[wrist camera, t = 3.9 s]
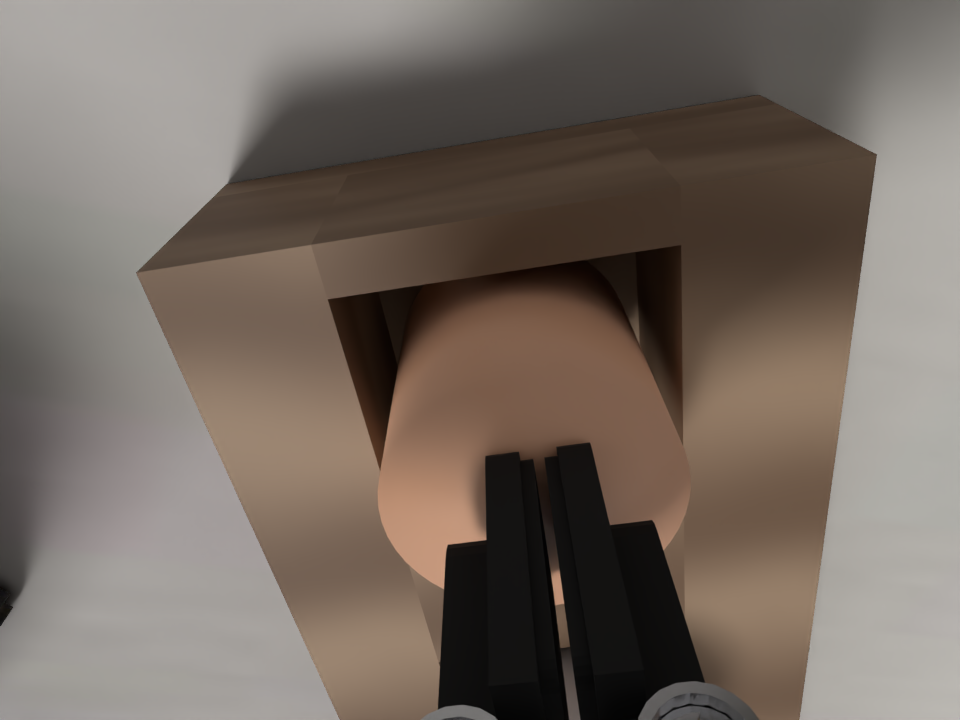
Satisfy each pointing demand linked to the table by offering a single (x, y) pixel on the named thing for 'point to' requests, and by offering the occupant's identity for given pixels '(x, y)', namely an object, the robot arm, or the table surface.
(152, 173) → the table surface
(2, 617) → the voltmeter
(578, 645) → the robot arm
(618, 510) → the button
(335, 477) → the wooden candle holder
